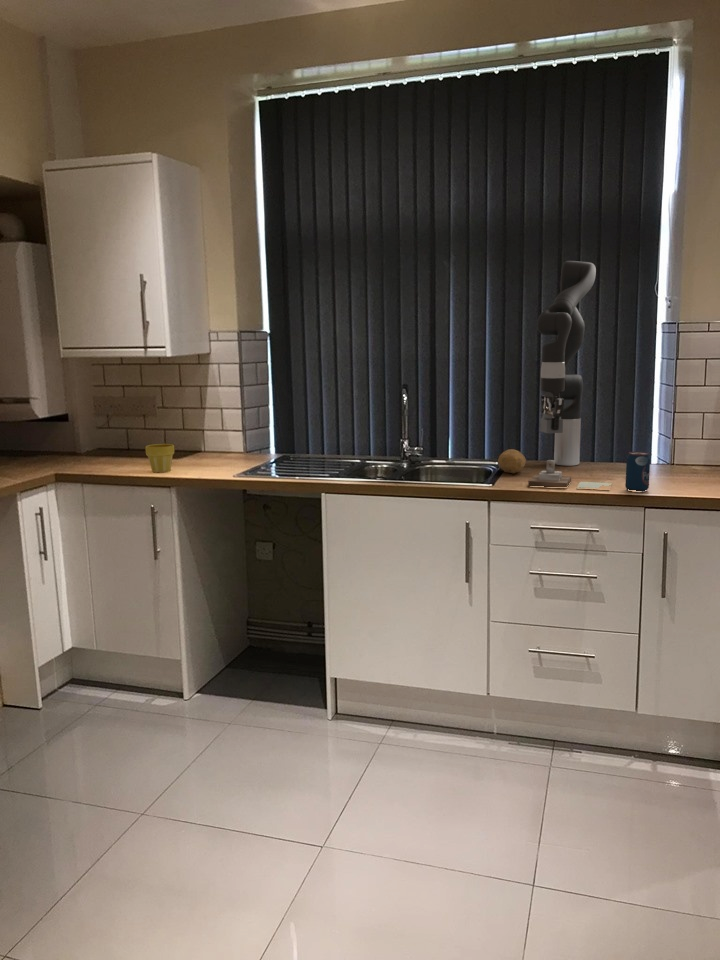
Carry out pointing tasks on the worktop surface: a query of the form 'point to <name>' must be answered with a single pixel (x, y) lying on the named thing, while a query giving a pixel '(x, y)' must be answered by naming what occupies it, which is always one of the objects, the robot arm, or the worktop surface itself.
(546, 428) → the cap
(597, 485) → the mat
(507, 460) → the potato
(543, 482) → the post stand
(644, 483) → the soda can
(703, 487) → the worktop surface
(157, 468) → the plant pot
